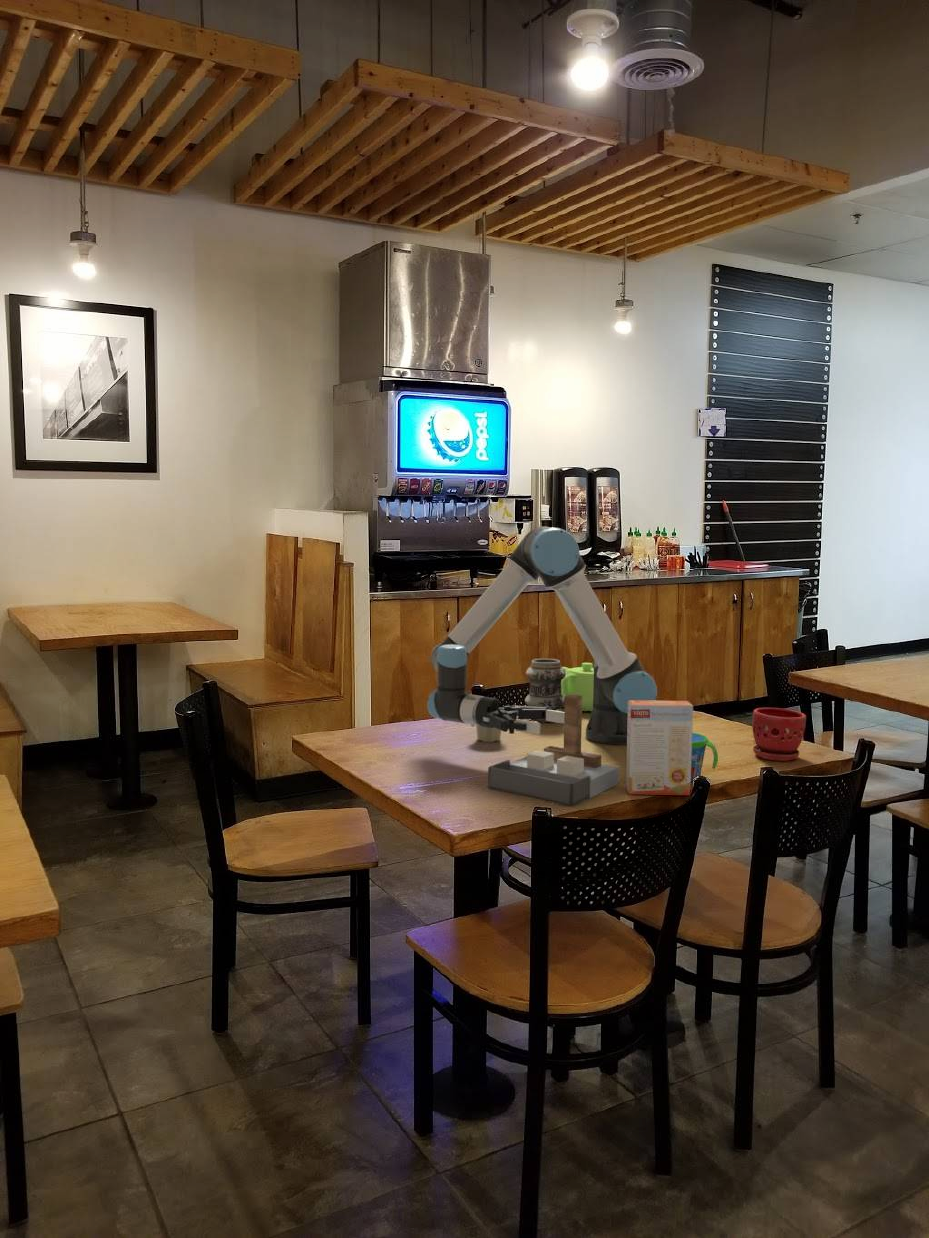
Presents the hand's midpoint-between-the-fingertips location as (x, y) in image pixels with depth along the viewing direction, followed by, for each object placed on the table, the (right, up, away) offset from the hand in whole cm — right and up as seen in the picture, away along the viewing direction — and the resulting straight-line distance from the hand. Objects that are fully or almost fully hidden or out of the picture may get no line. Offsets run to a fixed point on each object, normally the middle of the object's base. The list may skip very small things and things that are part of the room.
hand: (555, 723), depth 239 cm
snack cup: (+31, -13, +1) cm, 34 cm away
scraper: (+4, -9, -1) cm, 10 cm away
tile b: (+3, -10, -10) cm, 14 cm away
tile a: (-4, -9, -5) cm, 11 cm away
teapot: (+18, -3, +80) cm, 82 cm away
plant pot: (+60, -11, +22) cm, 64 cm away
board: (+2, -13, -4) cm, 14 cm away
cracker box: (+22, -15, -11) cm, 29 cm away
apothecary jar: (+3, -5, +62) cm, 62 cm away
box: (-5, -14, -13) cm, 20 cm away
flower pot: (-15, -8, +36) cm, 40 cm away
